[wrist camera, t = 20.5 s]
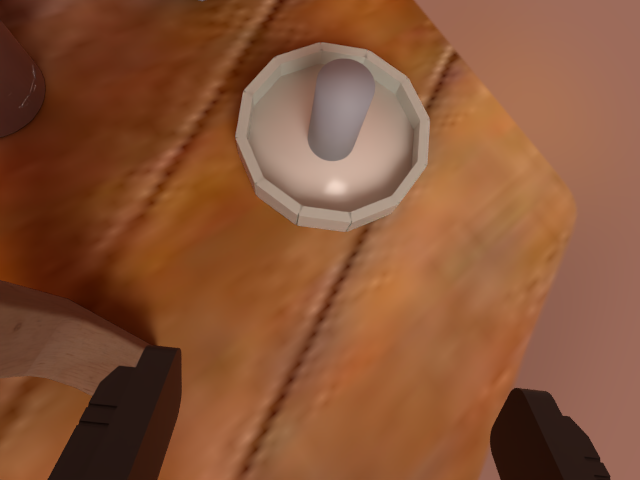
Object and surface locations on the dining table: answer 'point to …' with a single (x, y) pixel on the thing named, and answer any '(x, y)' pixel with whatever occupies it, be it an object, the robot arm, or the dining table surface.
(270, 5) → the dining table surface
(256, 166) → the round tray
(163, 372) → the robot arm
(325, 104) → the grey peg
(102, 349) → the wooden block
